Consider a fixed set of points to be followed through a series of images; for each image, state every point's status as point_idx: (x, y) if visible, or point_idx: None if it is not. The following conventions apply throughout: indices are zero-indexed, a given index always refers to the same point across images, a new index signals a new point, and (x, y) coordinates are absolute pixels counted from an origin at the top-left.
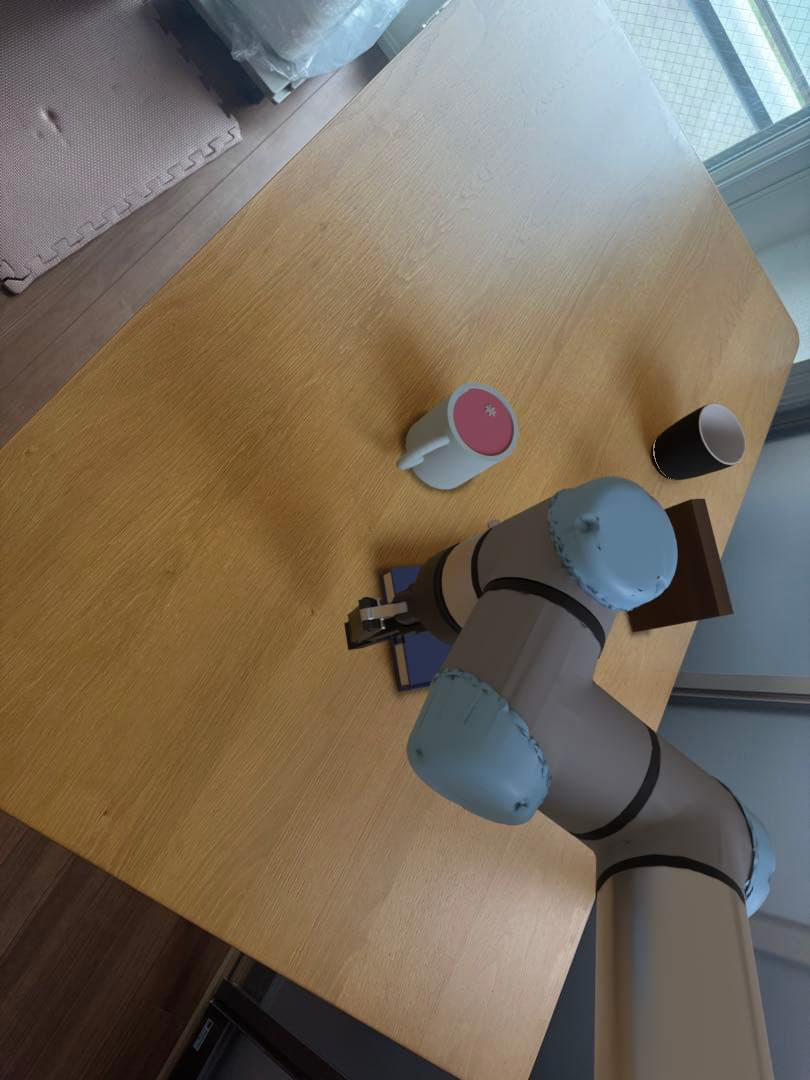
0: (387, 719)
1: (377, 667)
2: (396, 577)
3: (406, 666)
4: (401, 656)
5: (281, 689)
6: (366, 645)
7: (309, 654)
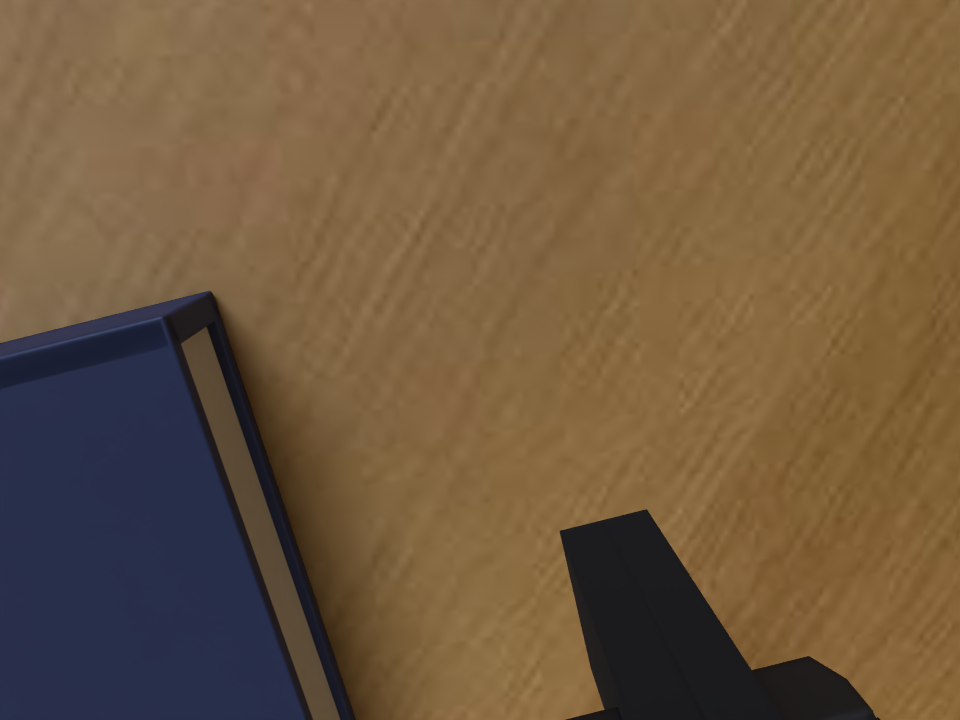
0: (258, 140)
1: (346, 396)
2: None
3: (213, 444)
4: (238, 480)
5: (821, 244)
6: (667, 627)
7: (692, 412)
